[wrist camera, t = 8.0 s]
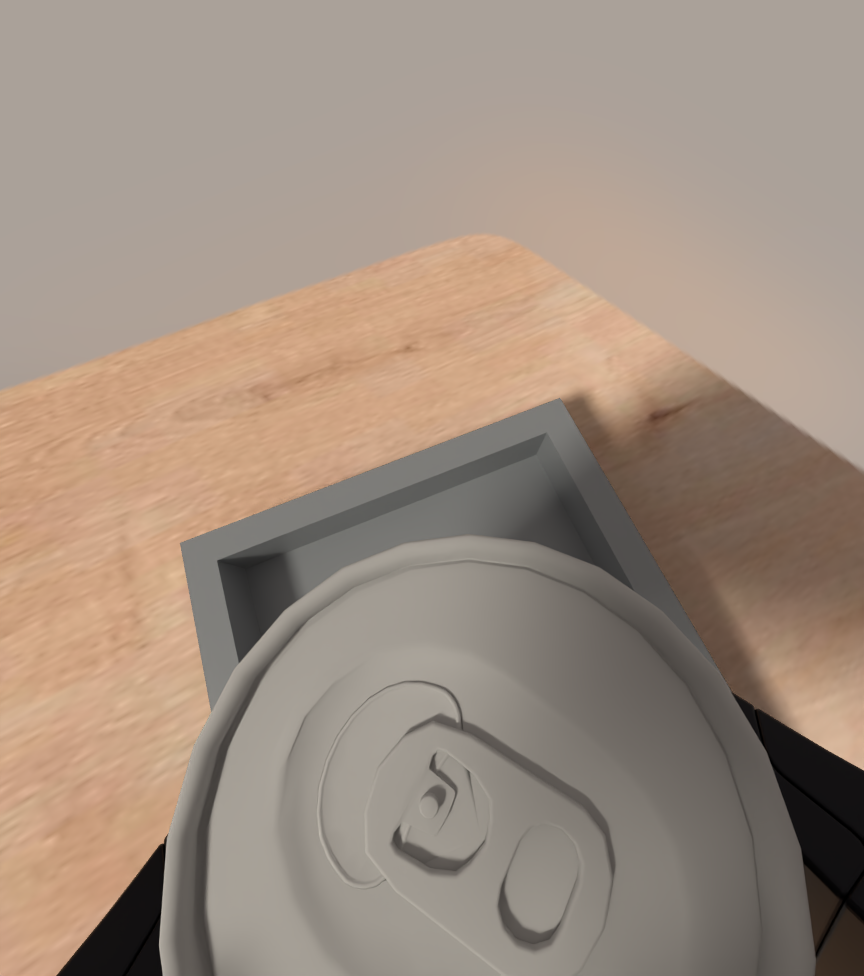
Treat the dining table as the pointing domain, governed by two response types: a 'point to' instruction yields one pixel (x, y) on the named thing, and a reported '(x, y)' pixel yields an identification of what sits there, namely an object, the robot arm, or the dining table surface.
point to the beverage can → (480, 788)
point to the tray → (419, 528)
